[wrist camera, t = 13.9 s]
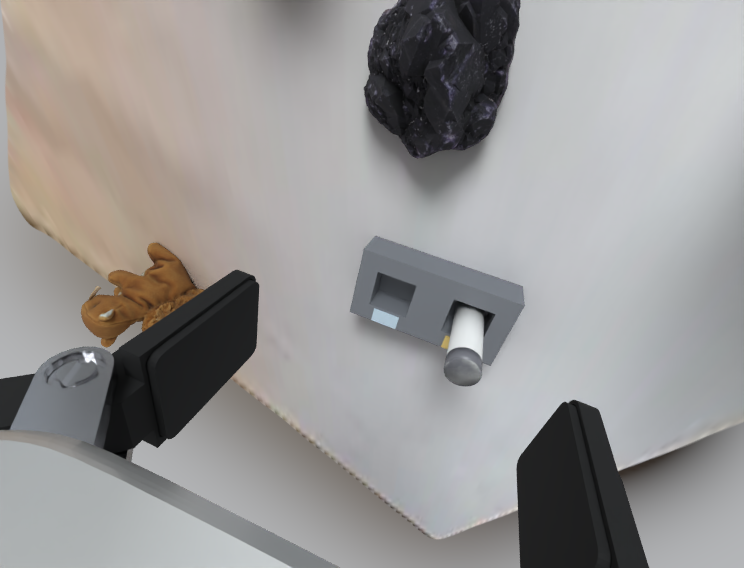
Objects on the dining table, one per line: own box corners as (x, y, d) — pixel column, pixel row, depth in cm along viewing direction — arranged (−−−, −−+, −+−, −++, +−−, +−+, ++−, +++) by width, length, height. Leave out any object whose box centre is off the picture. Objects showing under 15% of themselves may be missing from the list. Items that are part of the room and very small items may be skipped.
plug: (489, 300, 39) (487, 366, 30) (478, 322, 41) (473, 391, 31) (461, 290, 39) (450, 352, 30) (451, 312, 41) (439, 378, 32)
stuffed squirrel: (152, 236, 52) (58, 275, 41) (230, 292, 52) (157, 346, 41) (142, 281, 57) (57, 326, 46) (213, 331, 58) (145, 388, 47)
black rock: (396, 169, 37) (377, 199, 28) (341, 24, 31) (298, 8, 23) (531, 117, 32) (557, 135, 23) (495, -68, 26) (512, -130, 18)
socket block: (522, 286, 37) (524, 306, 34) (491, 344, 42) (490, 367, 38) (375, 235, 40) (363, 249, 37) (361, 295, 45) (349, 312, 41)
